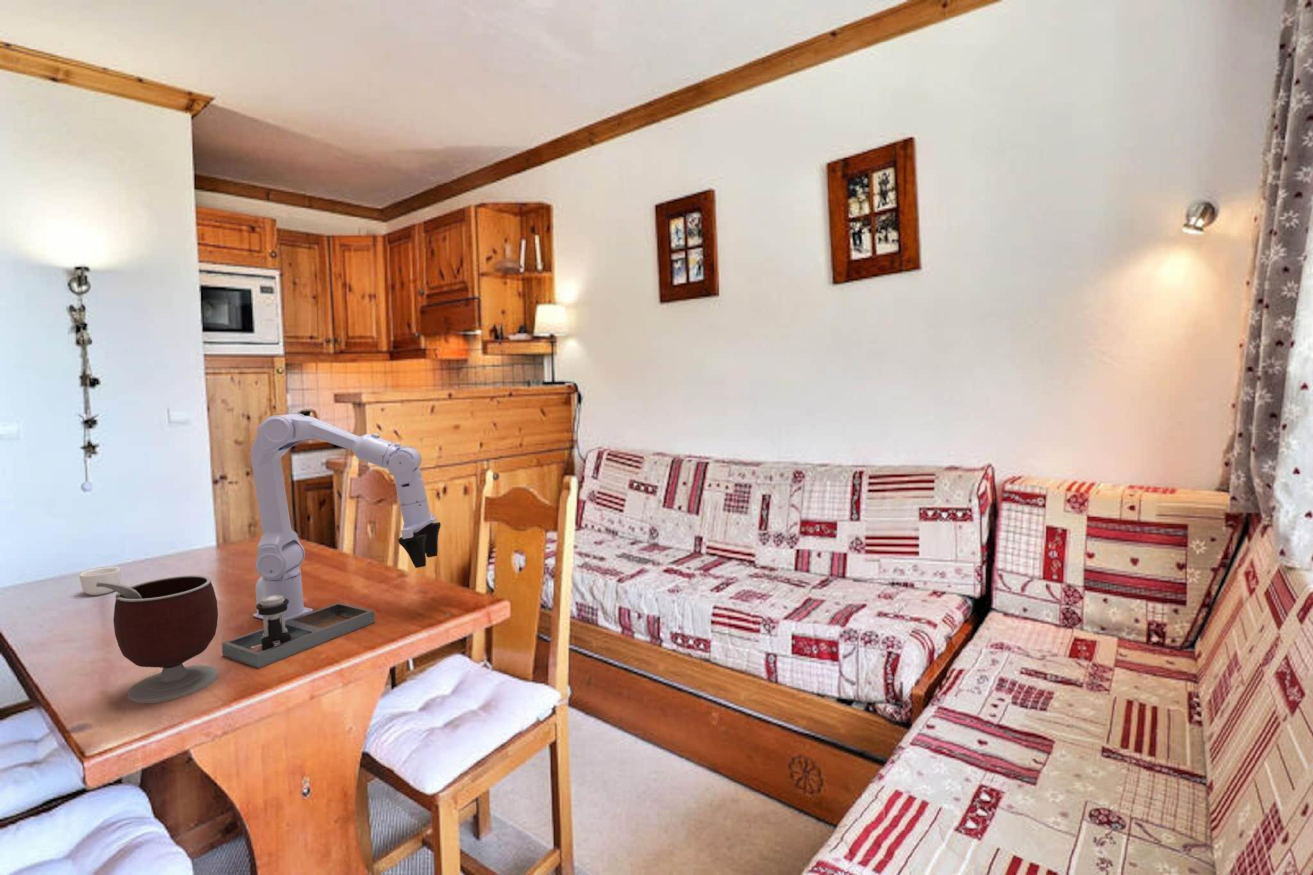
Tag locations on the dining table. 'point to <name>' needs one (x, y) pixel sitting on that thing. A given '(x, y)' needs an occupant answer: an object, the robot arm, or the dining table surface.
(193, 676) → the mate gourd
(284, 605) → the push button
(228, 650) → the rail frame
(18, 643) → the dining table surface
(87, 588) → the teacup
